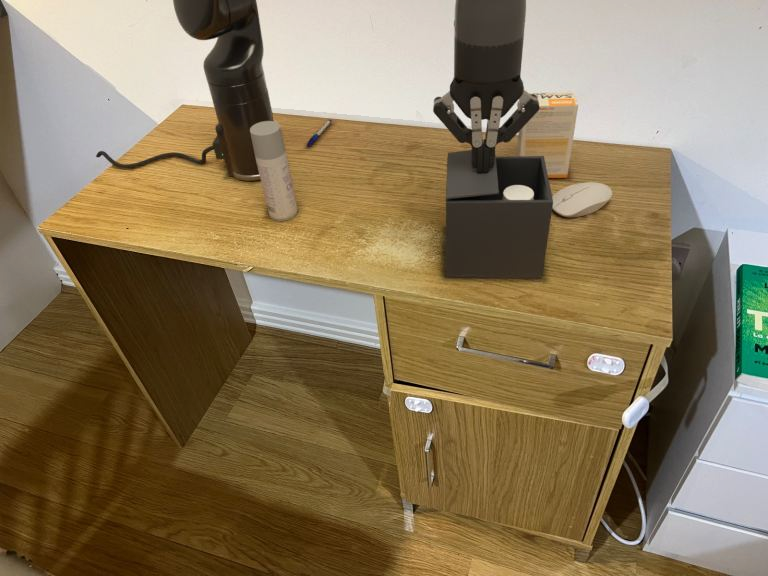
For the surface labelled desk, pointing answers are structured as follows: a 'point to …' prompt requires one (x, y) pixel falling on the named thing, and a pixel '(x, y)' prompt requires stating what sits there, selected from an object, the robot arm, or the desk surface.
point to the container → (274, 170)
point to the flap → (469, 177)
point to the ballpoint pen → (318, 133)
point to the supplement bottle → (518, 193)
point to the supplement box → (551, 132)
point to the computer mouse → (581, 199)
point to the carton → (501, 226)
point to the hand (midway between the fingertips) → (482, 169)
